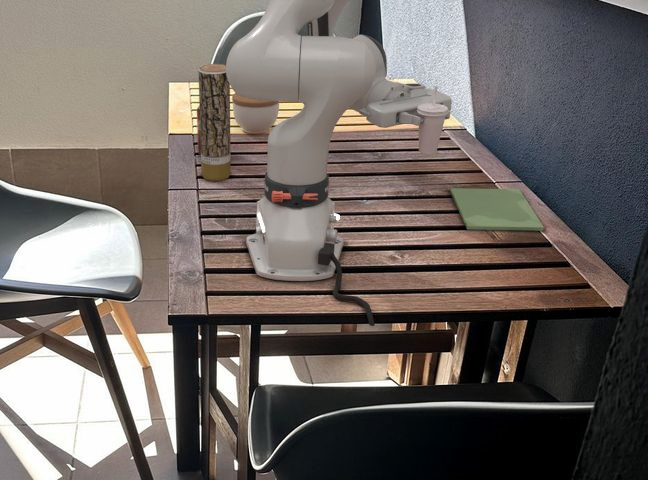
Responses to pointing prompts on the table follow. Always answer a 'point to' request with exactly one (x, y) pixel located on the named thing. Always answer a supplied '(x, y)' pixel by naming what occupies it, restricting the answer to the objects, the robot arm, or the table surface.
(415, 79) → the table surface
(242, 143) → the table surface
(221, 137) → the paper tube
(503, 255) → the table surface
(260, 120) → the lidded bowl
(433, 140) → the smoothie
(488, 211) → the pad
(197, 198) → the table surface
